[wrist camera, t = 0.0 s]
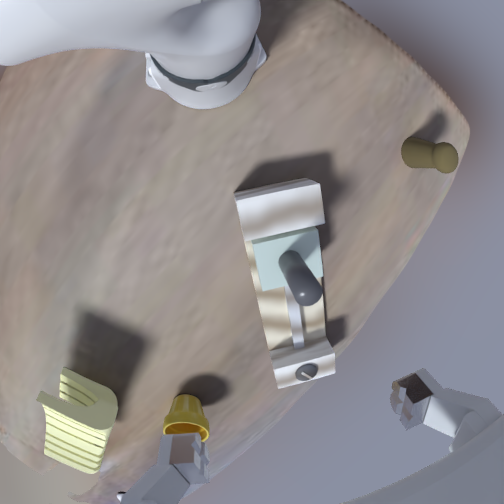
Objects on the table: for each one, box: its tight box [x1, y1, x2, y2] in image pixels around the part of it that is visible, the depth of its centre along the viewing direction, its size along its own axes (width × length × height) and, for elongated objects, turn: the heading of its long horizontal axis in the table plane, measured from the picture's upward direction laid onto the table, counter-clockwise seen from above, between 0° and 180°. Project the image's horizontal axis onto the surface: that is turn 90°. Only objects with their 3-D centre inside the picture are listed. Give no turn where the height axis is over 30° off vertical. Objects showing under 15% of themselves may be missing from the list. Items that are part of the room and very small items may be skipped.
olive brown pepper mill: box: [401, 137, 458, 173], centre depth 40 cm, size 6×6×11 cm
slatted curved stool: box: [36, 367, 118, 474], centre depth 50 cm, size 30×16×18 cm, turn 151°
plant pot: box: [163, 394, 209, 442], centre depth 57 cm, size 10×10×10 cm
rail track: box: [234, 178, 335, 389], centre depth 49 cm, size 38×12×7 cm, turn 11°
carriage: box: [251, 226, 323, 306], centre depth 41 cm, size 8×10×14 cm
